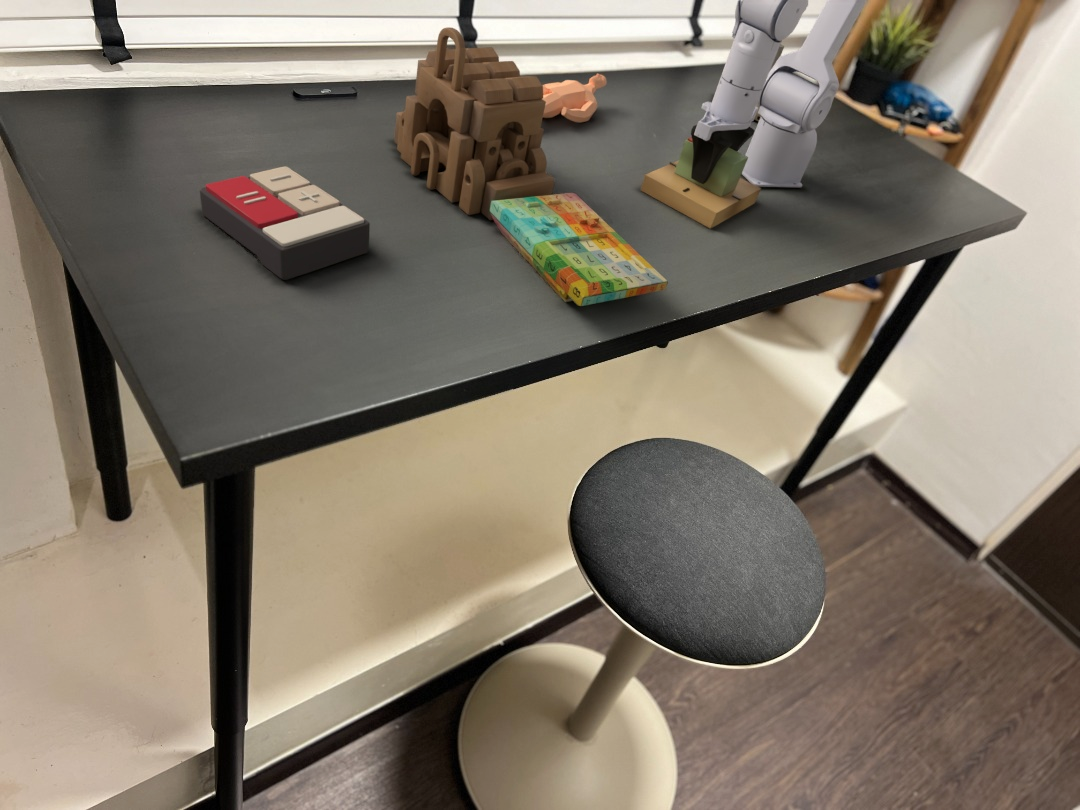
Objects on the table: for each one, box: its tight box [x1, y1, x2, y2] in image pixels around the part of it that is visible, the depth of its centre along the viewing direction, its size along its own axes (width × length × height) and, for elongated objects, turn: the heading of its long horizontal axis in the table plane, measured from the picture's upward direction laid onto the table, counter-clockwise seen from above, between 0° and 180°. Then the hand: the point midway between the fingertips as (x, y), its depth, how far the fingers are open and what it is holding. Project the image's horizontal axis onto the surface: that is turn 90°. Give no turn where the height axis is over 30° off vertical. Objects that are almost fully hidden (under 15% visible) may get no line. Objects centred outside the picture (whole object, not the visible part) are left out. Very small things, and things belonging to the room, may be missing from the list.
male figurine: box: [542, 73, 607, 123], centre depth 124 cm, size 11×5×25 cm
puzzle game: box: [489, 192, 669, 307], centre depth 90 cm, size 12×5×20 cm
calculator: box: [199, 166, 371, 281], centre depth 84 cm, size 11×4×15 cm
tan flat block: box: [640, 160, 762, 230], centre depth 113 cm, size 14×12×3 cm
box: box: [674, 136, 748, 197], centre depth 110 cm, size 8×4×5 cm, turn 52°
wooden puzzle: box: [393, 26, 556, 221], centre depth 98 cm, size 22×15×19 cm, turn 39°
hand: (706, 176), depth 112 cm, fingers closed on box, 4 cm apart
